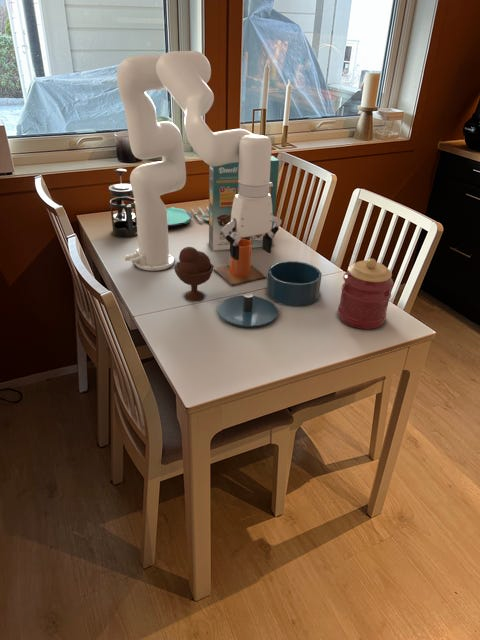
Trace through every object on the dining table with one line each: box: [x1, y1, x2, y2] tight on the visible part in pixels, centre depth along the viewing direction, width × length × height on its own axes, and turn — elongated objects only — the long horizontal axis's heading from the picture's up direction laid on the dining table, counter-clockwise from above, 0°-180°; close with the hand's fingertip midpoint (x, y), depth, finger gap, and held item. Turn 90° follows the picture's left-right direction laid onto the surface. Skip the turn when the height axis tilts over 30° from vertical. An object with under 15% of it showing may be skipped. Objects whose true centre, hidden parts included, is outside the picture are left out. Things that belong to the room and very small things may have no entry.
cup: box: [229, 239, 253, 277], centre depth 156 cm, size 7×7×10 cm
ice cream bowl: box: [173, 246, 215, 302], centre depth 142 cm, size 11×11×15 cm
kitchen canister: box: [337, 258, 394, 330], centre depth 135 cm, size 13×13×18 cm
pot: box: [266, 260, 322, 307], centre depth 148 cm, size 15×16×7 cm
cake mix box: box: [208, 155, 280, 252], centre depth 171 cm, size 22×6×30 cm, turn 106°
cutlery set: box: [166, 206, 209, 227], centre depth 198 cm, size 20×30×2 cm, turn 110°
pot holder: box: [213, 264, 266, 287], centre depth 159 cm, size 12×12×1 cm
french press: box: [108, 168, 138, 239], centre depth 179 cm, size 12×9×23 cm
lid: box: [217, 292, 278, 328], centre depth 138 cm, size 16×16×6 cm
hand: (250, 254), depth 131 cm, fingers open, 9 cm apart
